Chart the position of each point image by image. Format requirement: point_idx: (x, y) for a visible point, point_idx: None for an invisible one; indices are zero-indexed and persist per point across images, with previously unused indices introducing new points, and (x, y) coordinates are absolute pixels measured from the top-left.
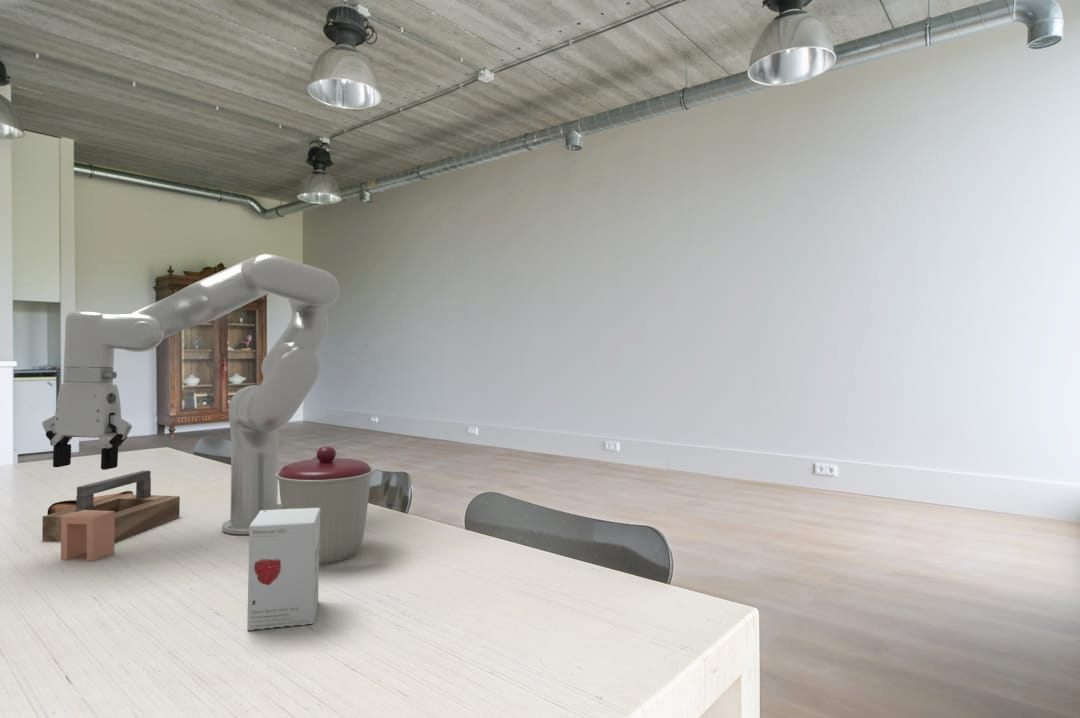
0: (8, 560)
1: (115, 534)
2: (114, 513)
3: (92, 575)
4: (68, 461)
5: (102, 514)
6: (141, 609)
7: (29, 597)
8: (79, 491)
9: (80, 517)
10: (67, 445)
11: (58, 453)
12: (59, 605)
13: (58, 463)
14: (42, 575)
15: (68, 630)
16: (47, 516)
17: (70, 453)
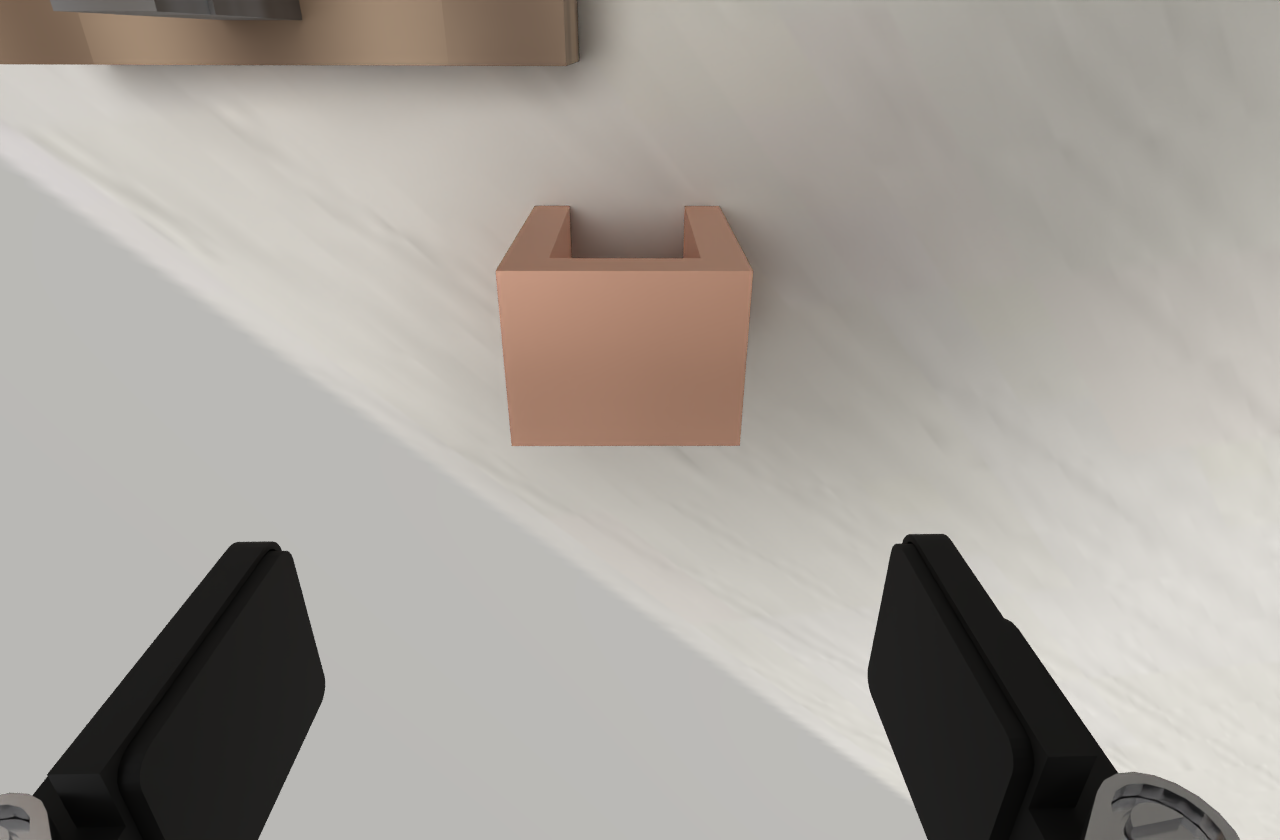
0: (314, 378)
1: (574, 16)
2: (751, 268)
3: (842, 482)
4: (275, 596)
5: (733, 363)
6: (1182, 679)
7: (776, 652)
8: (117, 12)
9: (647, 443)
10: (153, 821)
11: (254, 823)
12: None
13: (306, 701)
14: (643, 504)
15: None
16: (12, 59)
17: (214, 654)
